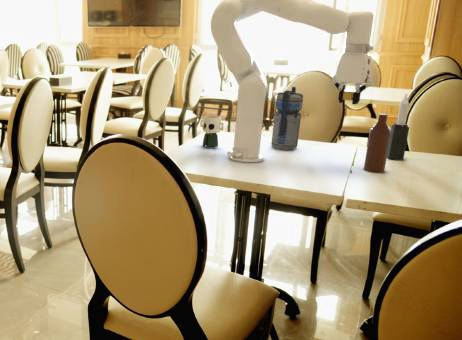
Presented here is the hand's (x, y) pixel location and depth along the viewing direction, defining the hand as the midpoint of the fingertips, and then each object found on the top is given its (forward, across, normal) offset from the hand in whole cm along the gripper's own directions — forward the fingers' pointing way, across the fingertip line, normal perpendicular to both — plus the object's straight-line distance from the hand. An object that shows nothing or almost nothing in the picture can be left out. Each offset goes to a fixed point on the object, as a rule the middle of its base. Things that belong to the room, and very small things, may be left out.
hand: (348, 102), depth 179 cm
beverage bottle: (+23, +28, -12) cm, 39 cm away
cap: (-1, 0, 0) cm, 1 cm away
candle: (+24, -8, -31) cm, 40 cm away
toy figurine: (+23, +48, +11) cm, 55 cm away
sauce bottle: (+23, -10, -6) cm, 26 cm away
